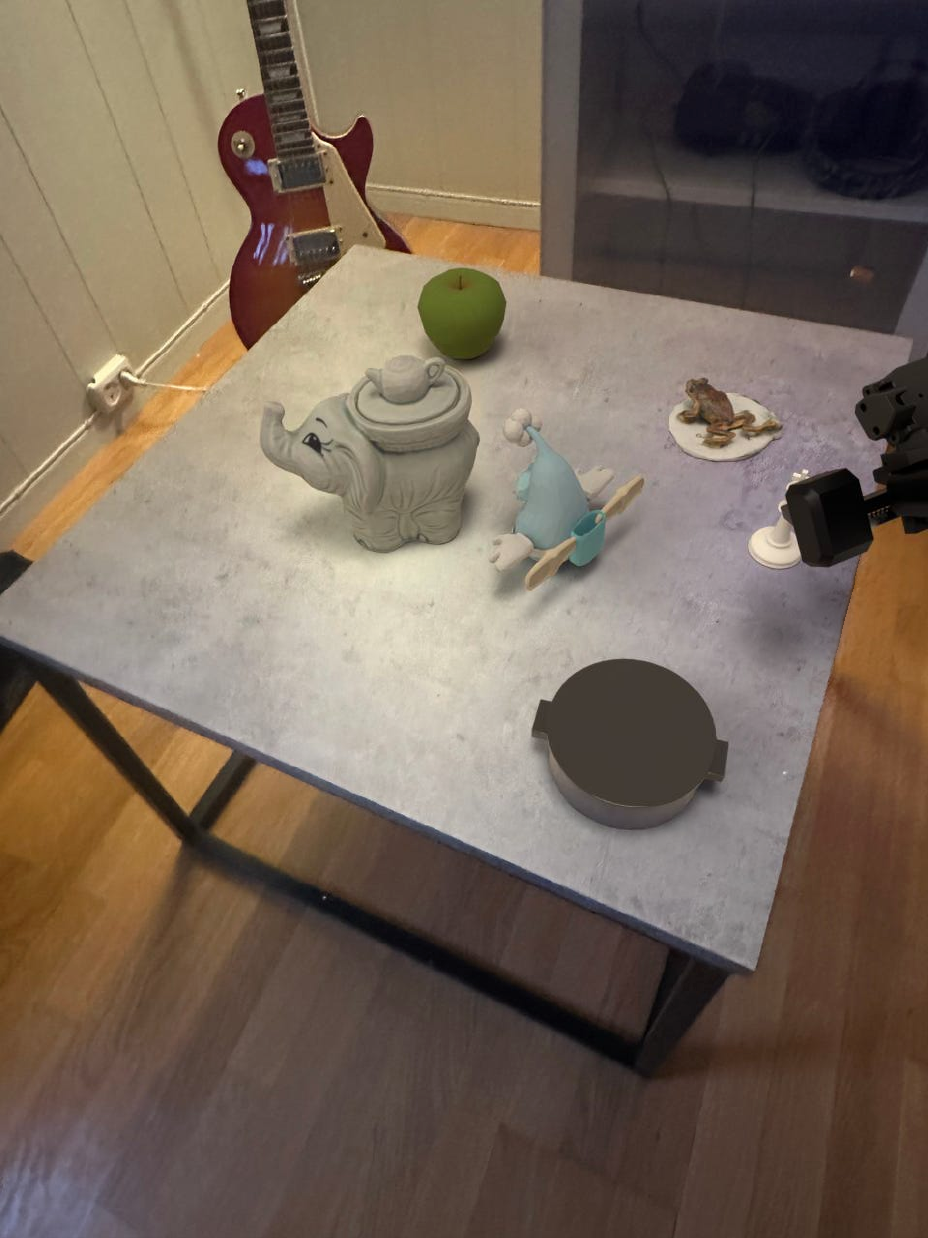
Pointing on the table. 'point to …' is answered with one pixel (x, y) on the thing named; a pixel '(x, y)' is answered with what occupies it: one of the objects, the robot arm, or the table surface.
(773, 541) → the chess piece
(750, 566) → the table surface
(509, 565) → the toy figure
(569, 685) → the pot
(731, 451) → the frog figurine
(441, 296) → the apple
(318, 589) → the table surface
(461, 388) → the teapot
